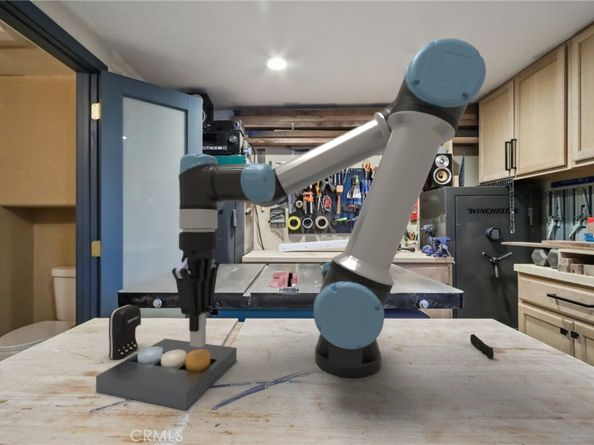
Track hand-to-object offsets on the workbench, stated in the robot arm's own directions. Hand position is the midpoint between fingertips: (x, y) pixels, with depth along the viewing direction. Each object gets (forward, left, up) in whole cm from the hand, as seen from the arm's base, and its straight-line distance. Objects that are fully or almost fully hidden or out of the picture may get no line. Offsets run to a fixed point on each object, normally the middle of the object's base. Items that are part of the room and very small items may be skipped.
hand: (197, 344), depth 57 cm
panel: (+6, 0, -7) cm, 9 cm away
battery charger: (+24, -5, -7) cm, 25 cm away
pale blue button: (+12, 0, -5) cm, 13 cm away
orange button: (0, 0, -4) cm, 4 cm away
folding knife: (-61, -30, -7) cm, 68 cm away
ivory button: (+6, 0, -5) cm, 8 cm away
